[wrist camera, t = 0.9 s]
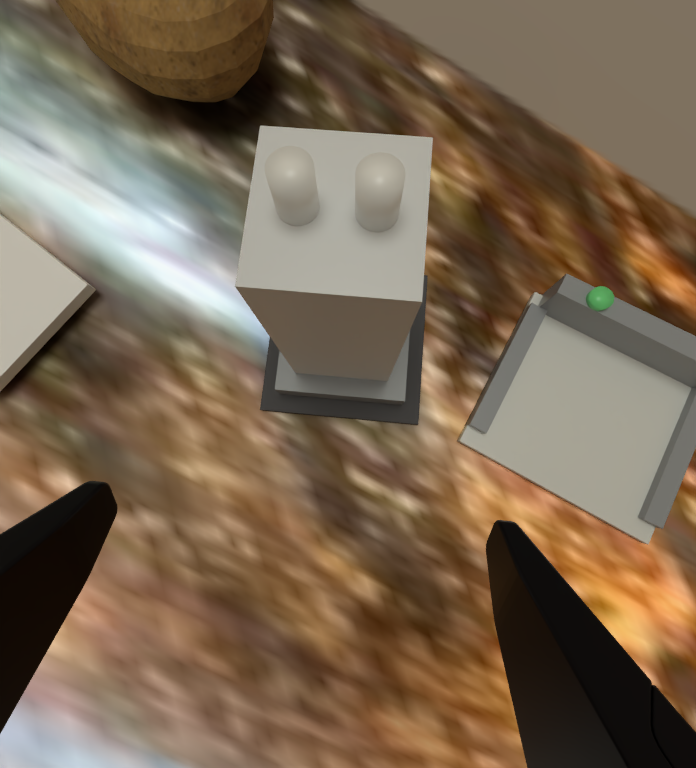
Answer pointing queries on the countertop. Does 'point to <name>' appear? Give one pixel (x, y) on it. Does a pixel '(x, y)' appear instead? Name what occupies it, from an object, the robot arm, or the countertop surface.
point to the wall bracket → (32, 298)
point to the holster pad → (350, 408)
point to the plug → (337, 257)
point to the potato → (177, 42)
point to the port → (593, 406)
